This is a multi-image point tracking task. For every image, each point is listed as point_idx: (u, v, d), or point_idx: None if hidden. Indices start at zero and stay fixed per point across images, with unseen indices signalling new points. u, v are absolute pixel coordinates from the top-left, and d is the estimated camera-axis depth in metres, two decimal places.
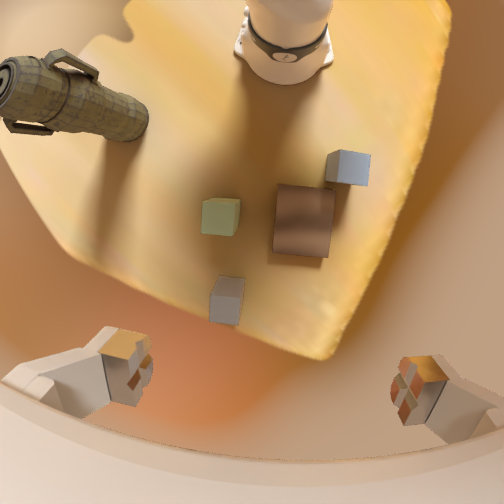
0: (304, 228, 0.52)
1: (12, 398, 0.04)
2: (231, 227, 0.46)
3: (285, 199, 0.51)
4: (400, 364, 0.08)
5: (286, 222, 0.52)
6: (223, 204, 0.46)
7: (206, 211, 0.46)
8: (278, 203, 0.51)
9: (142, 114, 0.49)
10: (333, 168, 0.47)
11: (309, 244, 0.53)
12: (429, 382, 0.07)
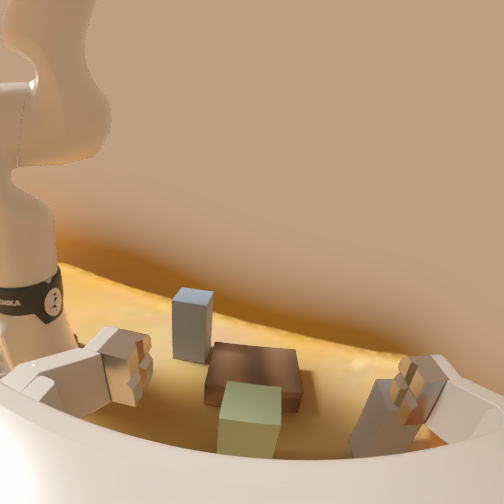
0: (262, 366, 0.39)
1: (12, 398, 0.04)
2: (266, 387, 0.26)
3: (226, 380, 0.35)
4: (400, 364, 0.08)
5: (258, 380, 0.36)
6: (226, 393, 0.24)
7: (237, 414, 0.22)
8: None
9: None
10: (191, 326, 0.42)
11: (282, 362, 0.40)
12: (429, 382, 0.07)
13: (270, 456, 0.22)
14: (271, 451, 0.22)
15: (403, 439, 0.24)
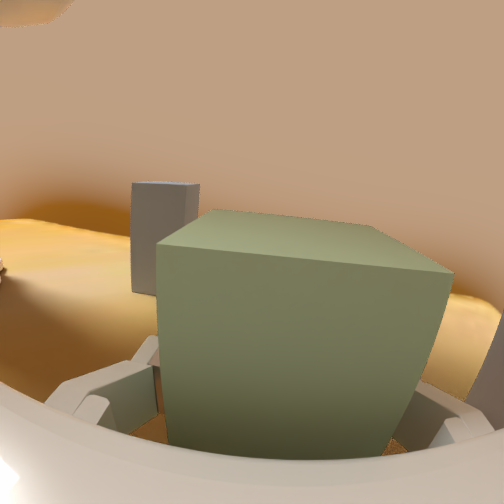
0: None
1: (12, 398, 0.04)
2: (331, 222, 0.09)
3: None
4: None
5: None
6: (209, 217, 0.08)
7: (251, 242, 0.05)
8: None
9: None
10: (160, 227, 0.25)
11: None
12: None
13: (374, 455, 0.06)
14: (385, 433, 0.05)
15: None
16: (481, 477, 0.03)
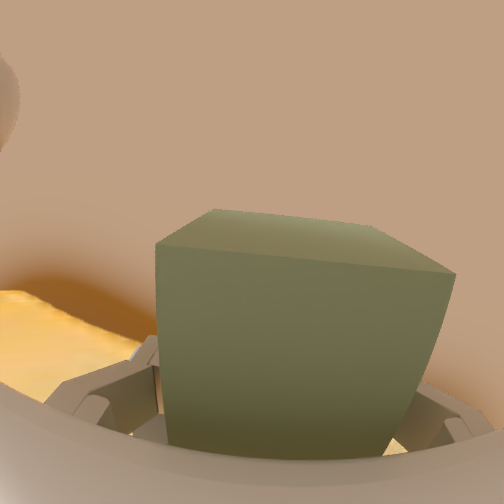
0: None
1: (12, 398, 0.04)
2: (331, 222, 0.09)
3: None
4: None
5: None
6: (209, 217, 0.08)
7: (251, 242, 0.05)
8: None
9: None
10: None
11: None
12: None
13: (374, 456, 0.05)
14: (385, 434, 0.05)
15: None
16: (481, 477, 0.03)
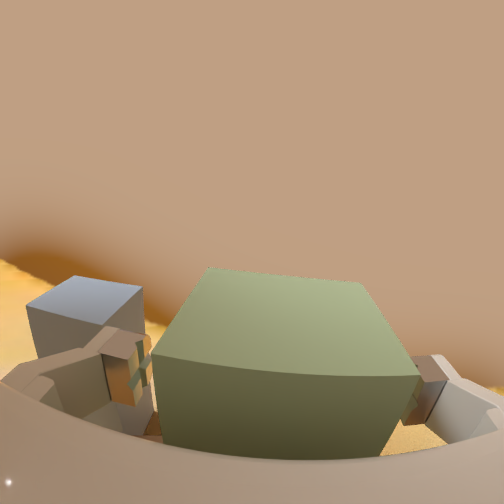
0: None
1: (12, 398, 0.04)
2: (321, 282, 0.09)
3: None
4: None
5: None
6: (202, 288, 0.08)
7: (235, 344, 0.06)
8: None
9: None
10: None
11: None
12: (429, 382, 0.07)
13: None
14: None
15: None
16: (481, 477, 0.03)
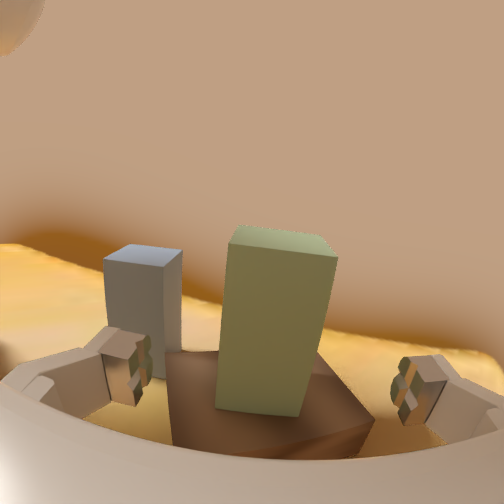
0: None
1: (12, 398, 0.04)
2: (298, 233, 0.18)
3: (218, 436, 0.14)
4: (400, 364, 0.08)
5: (283, 419, 0.16)
6: (239, 230, 0.17)
7: (260, 243, 0.14)
8: (237, 449, 0.13)
9: None
10: (137, 309, 0.22)
11: None
12: (429, 382, 0.07)
13: (315, 344, 0.15)
14: (317, 329, 0.14)
15: None
16: (481, 477, 0.03)
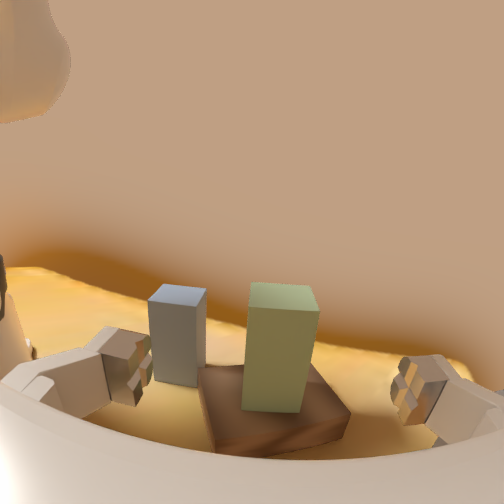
0: None
1: (12, 398, 0.04)
2: (294, 286, 0.25)
3: (242, 424, 0.22)
4: (400, 364, 0.08)
5: None
6: (253, 289, 0.24)
7: (268, 304, 0.21)
8: (255, 432, 0.21)
9: None
10: (175, 336, 0.29)
11: None
12: (429, 382, 0.07)
13: (307, 364, 0.22)
14: (308, 355, 0.22)
15: None
16: (481, 477, 0.03)
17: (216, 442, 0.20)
